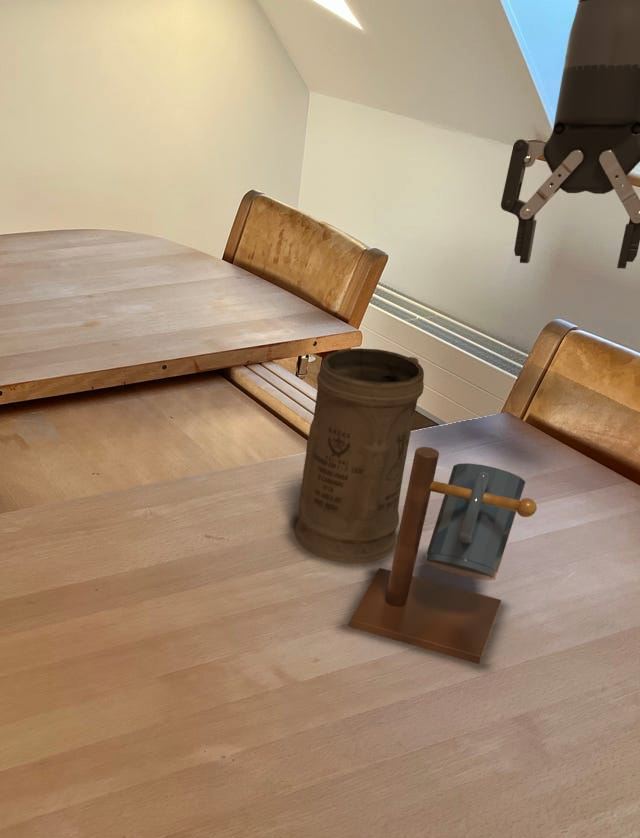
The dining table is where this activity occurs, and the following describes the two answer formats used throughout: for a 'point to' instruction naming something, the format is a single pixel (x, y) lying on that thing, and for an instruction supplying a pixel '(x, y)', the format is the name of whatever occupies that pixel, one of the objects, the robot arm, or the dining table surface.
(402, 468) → the beer stein
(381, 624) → the mug stand
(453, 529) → the mug
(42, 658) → the dining table surface
